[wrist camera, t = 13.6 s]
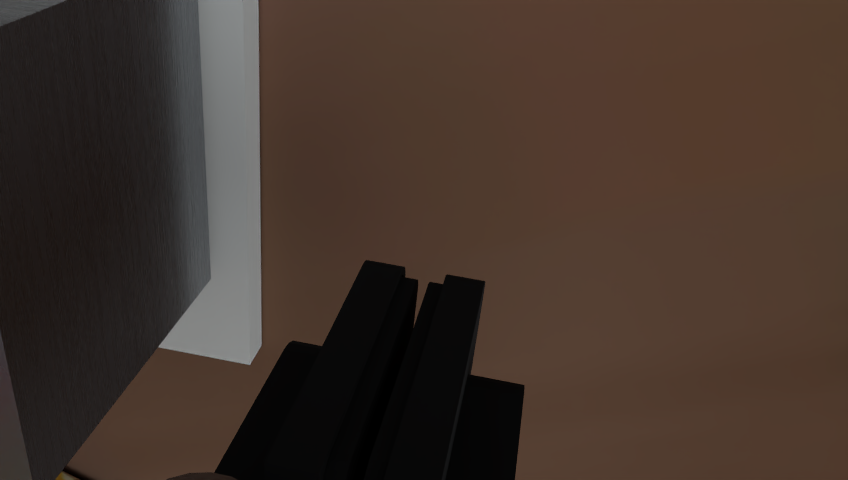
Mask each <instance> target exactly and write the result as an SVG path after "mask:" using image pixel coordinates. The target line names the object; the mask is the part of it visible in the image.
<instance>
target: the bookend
mask: <svg viewBox="0 0 848 480" xmlns="http://www.w3.org/2000/svg"><path fill="white" fill-rule="evenodd" d="M210 279H211V268H210V247H209V226H208V204H207V183H206V162H205V140H204V119H203V98H202V77H201V55H200V34H199V13H198V0H0V480H55V479H56V478H57V477H58V475H59V474H60V473H61V471H62V470H63V469H64V468H65V466H66V465H67V464H68V462H69V461H70V460H71V459H72V457H73V456H74V455H75V453H76V452H77V451H78V450H79V448H80V447H81V446H82V444H83V443H84V442H85V441H86V439H87V438H88V437H89V435H90V434H91V433H92V432H93V430H94V429H95V428H96V426H97V425H98V424H99V422H100V421H101V420H102V419H103V417H104V416H105V415H106V413H107V412H108V411H109V410H110V408H111V407H112V406H113V404H114V403H115V402H116V401H117V399H118V398H119V397H120V395H121V394H122V393H123V392H124V390H125V389H126V388H127V386H128V385H129V384H130V383H131V381H132V380H133V379H134V377H135V376H136V375H137V374H138V372H139V371H140V370H141V368H142V367H143V366H144V365H145V363H146V362H147V361H148V359H149V358H150V357H151V355H152V354H153V353H154V352H155V350H156V349H157V348H158V346H159V345H160V344H161V343H162V341H163V340H164V339H165V337H166V336H167V335H168V334H169V332H170V331H171V330H172V328H173V327H174V326H175V325H176V323H177V322H178V321H179V319H180V318H181V317H182V316H183V314H184V313H185V312H186V310H187V309H188V308H189V307H190V305H191V304H192V303H193V301H194V300H195V299H196V298H197V296H198V295H199V294H200V292H201V291H202V290H203V289H204V287H205V286H206V285H207V283H208V282H209V281H210Z"/></svg>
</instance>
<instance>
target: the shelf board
mask: <svg viewBox="0 0 848 480" xmlns="http://www.w3.org/2000/svg"><path fill="white" fill-rule="evenodd" d="M198 13H199V34H200V55H201V77H202V98H203V119H204V140H205V162H206V183H207V204H208V226H209V247H210V268H211V279H210V281H209V282H208V283H207V285H206V286H205V287H204V289H203V290H202V291H201V292H200V294H199V295H198V296H197V298H196V299H195V300H194V301H193V303H192V304H191V305H190V307H189V308H188V309H187V310H186V312H185V313H184V314H183V316H182V317H181V318H180V319H179V321H178V322H177V323H176V325H175V326H174V327H173V328H172V330H171V331H170V332H169V334H168V335H167V336H166V337H165V339H164V340H163V341H162V343H161V344H160V345H159V346H158V347H160V348H165V349H170V350H176V351H181V352H186V353H191V354H196V355H201V356H207V357H212V358H217V359H222V360H227V361H232V362H238V363H243V364H248V365H250V364H251V362H252V361H253V359H254V357H255V356H256V354H257V352H258V350H259V349H260V347H261V345H262V329H261V223H260V116H259V10H258V0H198Z"/></svg>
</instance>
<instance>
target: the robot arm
mask: <svg viewBox="0 0 848 480" xmlns="http://www.w3.org/2000/svg"><path fill="white" fill-rule="evenodd" d="M484 287H485V281H481V280H475V279H469V278H464V277H458V276H453V275H446V277H445V280H444V283H443V284H438V283H433V282H429V284H428V287H427V290H426V293H425V296H424V299H423V302H422V305H421V308H420V311H419V314H418V317H417V320H416V323H415V325H414V318H415V309H416V300H417V291H418V280H416V279H411V278H405V267H402V266H397V265H391V264H385V263H380V262H374V261H369V260H366V261H365V262H364V264H363V265H362V267H361V269H360V271H359V273H358V275H357V277H356V279H355V281H354V283H353V286H352V288H351V290H350V292H349V294H348V296H347V298H346V300H345V302H344V304H343V306H342V308H341V310H340V312H339V314H338V316H337V318H336V320H335V322H334V324H333V326H332V328H331V330H330V332H329V334H328V336H327V338H326V340H325V342H324V344H323V346H318V345H313V344H308V343H302V342H297V341H292V342H290V343H288V345H287V346H286V348H285V349H284V351H283V352H282V354H281V356H280V358H279V359H278V361H277V363H276V365H275V366H274V368H273V370H272V372H271V373H270V375H269V377H268V379H267V381H266V382H265V384H264V386H263V388H262V389H261V391H260V393H259V395H258V396H257V398H256V400H255V402H254V403H253V405H252V407H251V409H250V410H249V412H248V414H247V416H246V418H245V419H244V421H243V423H242V425H241V426H240V428H239V430H238V432H237V433H236V435H235V437H234V439H233V440H232V442H231V444H230V446H229V448H228V449H227V451H226V453H225V455H224V456H223V458H222V460H221V462H220V463H219V465H218V467H217V469H216V470H215V472H214V473H212V472H205V473H188V474H184V475H180V476H176V477H172V478H168V479H166V480H515V472H516V463H517V454H518V445H519V435H520V426H521V417H522V407H523V398H524V385H521V384H516V383H511V382H506V381H500V380H495V379H490V378H485V377H480V376H474V375H471V369H472V363H473V356H474V350H475V344H476V338H477V331H478V325H479V319H480V313H481V306H482V300H483V294H484ZM413 327H414V328H413Z"/></svg>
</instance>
